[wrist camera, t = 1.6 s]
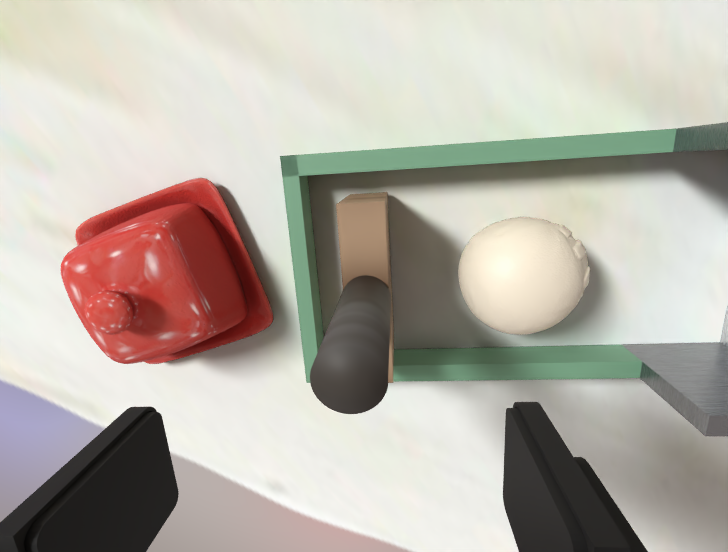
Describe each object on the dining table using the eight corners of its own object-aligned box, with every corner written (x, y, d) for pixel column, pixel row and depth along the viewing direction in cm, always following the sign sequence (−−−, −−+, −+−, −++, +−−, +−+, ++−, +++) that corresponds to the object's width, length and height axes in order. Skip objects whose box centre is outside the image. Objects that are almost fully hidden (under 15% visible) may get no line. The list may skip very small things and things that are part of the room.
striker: (348, 194, 25) (293, 232, 12) (388, 192, 25) (380, 227, 11) (359, 335, 28) (323, 500, 14) (395, 334, 28) (394, 501, 14)
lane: (290, 156, 25) (280, 156, 23) (648, 132, 23) (676, 128, 21) (313, 365, 30) (306, 382, 27) (619, 360, 28) (639, 378, 25)
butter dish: (219, 169, 26) (140, 172, 18) (284, 320, 29) (241, 381, 21) (80, 224, 28) (-48, 249, 20) (153, 361, 31) (67, 432, 23)
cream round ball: (572, 289, 26) (629, 330, 20) (467, 320, 28) (488, 367, 21) (550, 193, 25) (604, 204, 18) (439, 230, 26) (453, 253, 20)
